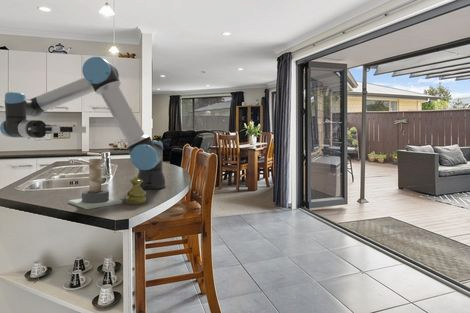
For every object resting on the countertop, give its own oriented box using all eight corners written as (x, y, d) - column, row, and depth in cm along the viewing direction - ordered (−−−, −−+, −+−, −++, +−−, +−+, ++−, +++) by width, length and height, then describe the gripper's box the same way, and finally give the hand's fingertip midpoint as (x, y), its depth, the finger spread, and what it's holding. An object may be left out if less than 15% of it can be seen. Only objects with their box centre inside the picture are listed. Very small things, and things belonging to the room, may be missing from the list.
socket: (103, 197, 133) (103, 187, 132) (122, 203, 124) (122, 191, 124) (68, 203, 122) (68, 191, 121) (86, 209, 113) (86, 196, 113)
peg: (97, 198, 126) (97, 158, 124) (103, 200, 123) (103, 159, 122) (87, 200, 123) (87, 159, 121) (92, 202, 120) (92, 160, 118)
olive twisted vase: (140, 199, 131) (140, 175, 130) (149, 203, 126) (149, 178, 125) (122, 202, 126) (123, 177, 125) (131, 205, 121) (131, 179, 120)
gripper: (57, 137, 149) (94, 138, 143) (5, 138, 126) (47, 139, 119) (57, 121, 149) (94, 121, 142) (4, 119, 125) (46, 119, 119)
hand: (73, 129), depth 131 cm, fingers open, 13 cm apart
